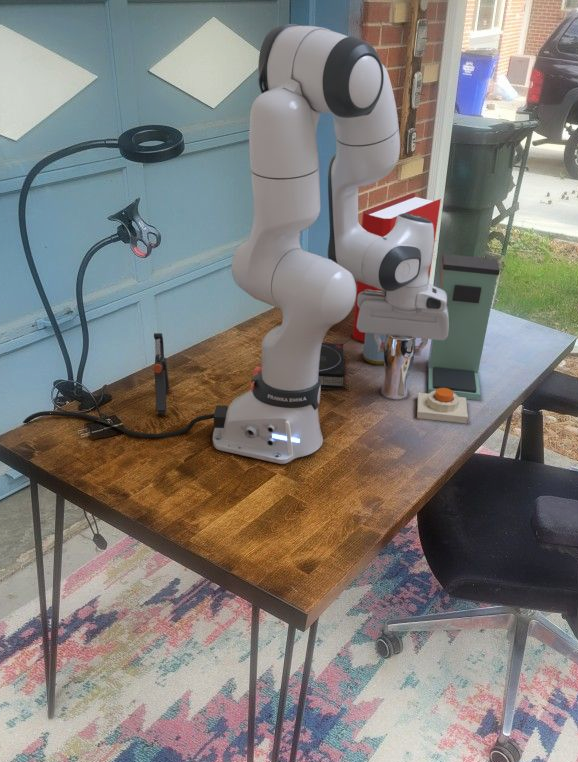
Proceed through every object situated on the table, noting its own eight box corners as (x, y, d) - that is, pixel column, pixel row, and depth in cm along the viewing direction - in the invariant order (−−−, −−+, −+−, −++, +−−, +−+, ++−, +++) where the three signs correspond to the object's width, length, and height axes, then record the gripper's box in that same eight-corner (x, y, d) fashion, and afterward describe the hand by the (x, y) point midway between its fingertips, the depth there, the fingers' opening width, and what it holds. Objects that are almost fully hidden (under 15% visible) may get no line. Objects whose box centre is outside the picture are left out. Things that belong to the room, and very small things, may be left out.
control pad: (416, 418, 161) (419, 404, 158) (417, 399, 168) (419, 385, 166) (466, 423, 160) (469, 409, 158) (464, 404, 167) (467, 390, 165)
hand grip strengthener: (155, 418, 153) (149, 352, 144) (159, 390, 163) (153, 327, 154) (167, 418, 153) (161, 352, 144) (169, 390, 163) (164, 327, 154)
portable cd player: (271, 387, 167) (271, 371, 165) (276, 355, 181) (276, 340, 179) (342, 391, 168) (343, 375, 166) (341, 358, 182) (343, 344, 179)
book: (400, 308, 212) (414, 192, 192) (424, 315, 208) (440, 198, 189) (349, 337, 193) (359, 212, 173) (375, 346, 189) (388, 219, 170)
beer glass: (406, 402, 166) (415, 341, 157) (376, 397, 167) (383, 336, 158) (410, 388, 172) (419, 329, 163) (381, 384, 172) (388, 324, 163)
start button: (434, 402, 161) (435, 395, 160) (434, 393, 164) (435, 386, 163) (452, 404, 160) (453, 397, 159) (452, 395, 164) (453, 388, 163)
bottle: (376, 368, 179) (382, 310, 170) (357, 357, 183) (362, 300, 174) (396, 361, 183) (403, 304, 174) (377, 351, 187) (383, 294, 178)
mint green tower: (426, 394, 170) (444, 280, 153) (426, 361, 184) (442, 253, 168) (480, 400, 169) (503, 286, 153) (476, 366, 184) (497, 259, 168)
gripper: (356, 293, 153) (352, 354, 161) (453, 303, 152) (444, 363, 160) (359, 283, 158) (354, 342, 166) (453, 292, 157) (443, 351, 165)
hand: (399, 352), depth 163 cm, fingers closed on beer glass, 7 cm apart
